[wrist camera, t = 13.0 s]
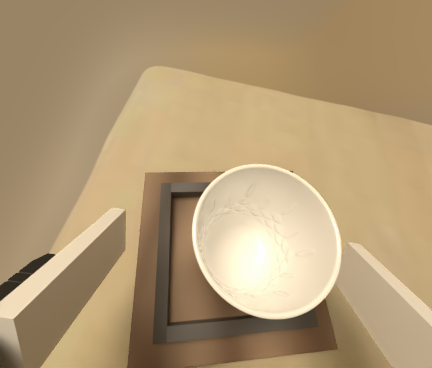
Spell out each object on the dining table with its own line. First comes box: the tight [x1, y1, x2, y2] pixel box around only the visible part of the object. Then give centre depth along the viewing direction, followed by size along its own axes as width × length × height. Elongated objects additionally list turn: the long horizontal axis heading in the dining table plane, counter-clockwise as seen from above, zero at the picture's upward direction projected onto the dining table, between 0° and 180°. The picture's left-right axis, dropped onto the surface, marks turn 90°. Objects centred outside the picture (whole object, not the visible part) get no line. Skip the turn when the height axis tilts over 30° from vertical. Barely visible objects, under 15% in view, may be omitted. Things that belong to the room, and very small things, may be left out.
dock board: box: [127, 171, 338, 368], centre depth 19 cm, size 17×17×2 cm
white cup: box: [192, 164, 342, 319], centre depth 15 cm, size 8×8×10 cm
